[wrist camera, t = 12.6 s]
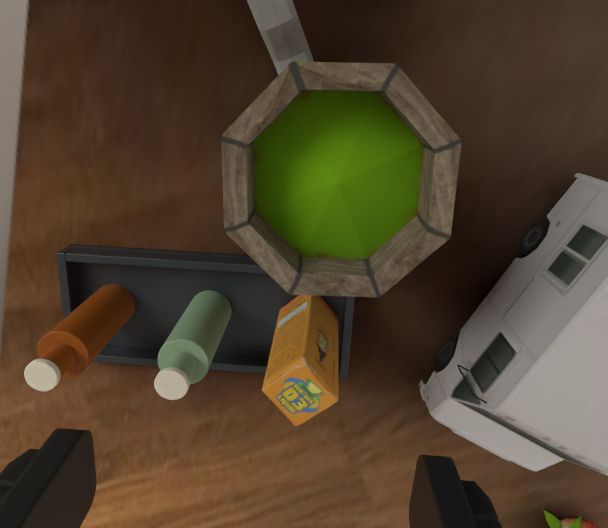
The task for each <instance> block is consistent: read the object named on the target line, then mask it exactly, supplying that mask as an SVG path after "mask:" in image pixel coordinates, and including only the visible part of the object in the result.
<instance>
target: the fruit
mask: <svg viewBox="0 0 608 528" xmlns="http://www.w3.org/2000/svg"><path fill="white" fill-rule="evenodd" d="M543 511H544V514H545V517H546V520H547V522H548V524H549V526H550V528H598V527H596V526H595V525H593V524H591V523H590V522H588V521H585V520H581V516H580V517H579V518H577V519H576V518H567V519H563V520H560V521H559V520H558V519H557V518H556V517H555V516H554V515H552V514H550V513H548V512H547V511H545V510H543Z"/></svg>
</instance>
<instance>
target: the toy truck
mask: <svg viewBox="0 0 608 528" xmlns="http://www.w3.org/2000/svg"><path fill="white" fill-rule="evenodd" d="M574 177H575V178H577V179H576V181H575V182H574V183H573V184H572V185H571V187H570V188H569V189H568V190H567V192H566V193H565V194H564V195H563V196H562V198H561V199H560V200H559V201H558V203H557V204H556V205H555V206H554V208H553V209H552V210H551V211H550V212H549V214H548V215H547V218H548V220H549V221H550V224H549V223H547V222H546V221H544V220H543V221H541V222H538V223H536V224H534V225H533V226H532V227H531V228H530V229H529V230H528V231H527V232H526V234H525V236H524V237H523V239H522V241H521V243H520V252H521V253H522V254H523V255H525V256H526V257H524V258H517V257H516V258H515V260H514V261H513V262H512V264H511V265H510V266H509V267H508V269H507V270H506V271H505V273H504V274H503V275H502V277H501V278H500V279H499V281H498V282H497V283H496V284H495V286H494V287H493V288H492V290H491V291H490V292H489V294H488V295H487V296H486V298H485V299H484V300H483V301H482V303H481V304H480V305H479V307H478V308H477V309H476V311H475V312H474V313H473V315H472V316H471V317H470V318H469V320H468V321H467V322H466V324H465V325H464V326H463V328H462V329H461V330H460V335H459V338H458V337H450V338H449V339H448V340H447V341H446V342H445V343H444V344H443V345H442V347H441V349H440V351H439V352H438V355H437V360H436V364H437V367H438V369H440V370H442V371H440V372H439V371H436V370H434V372H433V373H432V375H431V377H430V378H429V380H428V382H427V383H426V385H425V384H423V381H422V380H421V382H420V383H419V389H420V393H421V396H422V399H423V400H424V401H426V404H427V407H428V410H429V413H430V414H431V416H432V417H433V418H434V419H435V420H436V421H437V422H439V423H441V424H443V425H445V426H447V427H448V428H450V429H451V430H452V431H453V432H454V433H456V434H458V435H460V436H462V437H463V438H465V439H467V440H469V441H471V442H473V443H475V444H477V445H479V446H480V447H482V448H484V449H486V450H488V451H490V452H492V453H494V454H496V455H497V456H499V457H501V458H503V459H505V460H507V461H513V462H514V463H516V464H518V465H520V466H522V467H524V468H527V469H529V470H532V471H535V472H536V471H539V470H541V469H543V468H546V467H548V466H551V465H553V464H555V463H558V462H560V461H563V460H567V461H570V462H572V463H575V464H578V465H580V466H583V467H586V468H588V469H591V470H594V471H596V472H599V473H602V474H604V475H607V476H608V182H606V181H603V180H600V179H597V178H594V177H590V176H587V175H584V174H581V173H576V174H575V176H574ZM424 386H425V387H424ZM422 391H423V392H422ZM423 394H424V395H423Z"/></svg>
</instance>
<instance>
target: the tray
mask: <svg viewBox="0 0 608 528" xmlns="http://www.w3.org/2000/svg"><path fill="white" fill-rule="evenodd" d="M57 262H58V271H59V280H60V288H61V297H62V306H63V315H64V318H66V317H67V316H68V315H69V314H70V313H71V312H73V311H74V310H75V309H76V308H77V307H78V306H80V305H81V304H82V303H83V302H84V301H85V300H87V299H88V298H89V297H90V296H91V295H92V294H94V293H95V292H96V291H97V290H98V289H99V288H101V287H102V286H104V285H108V284H116V285H120V286H122V287H124V288H126V289H127V290H128V291H129V292H130V293H131V294H132V296H133V298H134V301H135V311H134V313H133V315H132V316H131V317H130V319H129V320H128V321H127V322H126V323H125V324H124V325H123V327H122V328H121V329H120V330H119V331H118V332H117V333H116V335H115V336H114V337H113V338H112V339H111V340H110V342H109V343H108V344H107V345H106V346H105V347H104V348H103V350H102V351H101V352H100V353H99V354H98V355H97V356H96V358H95V359H94V360H93V361H92V362H99V363H114V364H129V365H144V366H159V365H158V354H159V351H160V349H161V348H162V346H163V344H164V343H165V341H166V340H167V338H168V337H169V335H170V334H171V332H172V330H173V329H174V327H175V326H176V324H177V323H178V321H179V320H180V318H181V316H182V315H183V313H184V312H185V310H186V309H187V307H188V306H189V304H190V303H191V301H192V299H193V298H194V297H195V296H196V295H197V294H198V293H200V292H203V291H208V290H211V291H216V292H219V293H221V294H222V295H224V296H225V297H226V298H227V299H228V301H229V303H230V305H231V310H232V312H231V317H230V319H229V322H228V324H227V327H226V329H225V331H224V334H223V336H222V338H221V341H220V343H219V346H218V348H217V350H216V353H215V355H214V357H213V360H212V362H211V365H210V367H209V369H208V370H219V371H234V372H249V373H264V374H266V370H267V365H268V360H269V356H270V351H271V347H272V343H273V338H274V333H275V329H276V324H277V320H278V316H279V311H280V309H281V308H283V307H284V306H286V305H287V304H288V303H289V302H291V301H292V300H293V299H295V298H296V297H297V296H299V295H289V294H288V293H287V292H286V291H285V290H284V289H283V288H282V287H281V286H280V285H279V284H278V283H277V282H276V281H275V280H274V279H273V278H272V277H271V276H270V275H269V274H268V273H267V272H266V271H264V270H263V269H262V268H261V267H260V266H259V265H258V264H257V263H256V262H255V261H254V260H253V259H252V258H251V257H250V256H249V255H237V254H221V253H205V252H189V251H173V250H156V249H140V248H124V247H108V246H92V245H76V244H71V245H69V246H68V247H66V248H64V249H62V250H61V251H59V252H57ZM321 297H322V298H323V299H324V301H325V302H326V303H327V304H328V305H329V307H330V308H331V309H332V310H333V311H334V313H335V314H336V315H337V317H338V378H341V379H347V377H348V366H349V356H350V345H351V334H352V323H353V313H354V302H355V297H348V296H321Z"/></svg>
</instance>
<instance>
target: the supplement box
mask: <svg viewBox="0 0 608 528" xmlns="http://www.w3.org/2000/svg"><path fill="white" fill-rule="evenodd" d="M262 391H263V392H264V393H265V394H266V395H267V396H268V398H269V399H270V400H271V401H272V402H273V403H274V404H275V405H276V406H277V407H278V408H279V409H280V410H281V411H282V412H283V413H284V415H285V416H286V417H287V418H288V419H289V420H290V421H291V422H292V423H293V424H294V425H295V426H298V425H300V424H302V423H304V422H305V421H307V420H309V419H310V418H312V417H314V416H315V415H317V414H318V413H320V412H322V411H323V410H325V409H326V408H328V407H329V406H331V405H332V404H334V403H336V402H337V401H338V398H339V396H338V317H337V315H336V314H335V313H334V311H333V310H332V309H331V308H330V307H329V305H328V304H327V303H326V302H325V301H324V299H323V298H322V297H321V296H316V295H299V296H297V297H296V298H295V299H293V300H292V301H291V302H289V303H288V304H287V305H286V306H284V307H283V308H281V309H280V311H279V316H278V320H277V324H276V329H275V333H274V338H273V343H272V347H271V351H270V356H269V360H268V365H267V370H266V374H265V379H264V383H263V388H262Z"/></svg>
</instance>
